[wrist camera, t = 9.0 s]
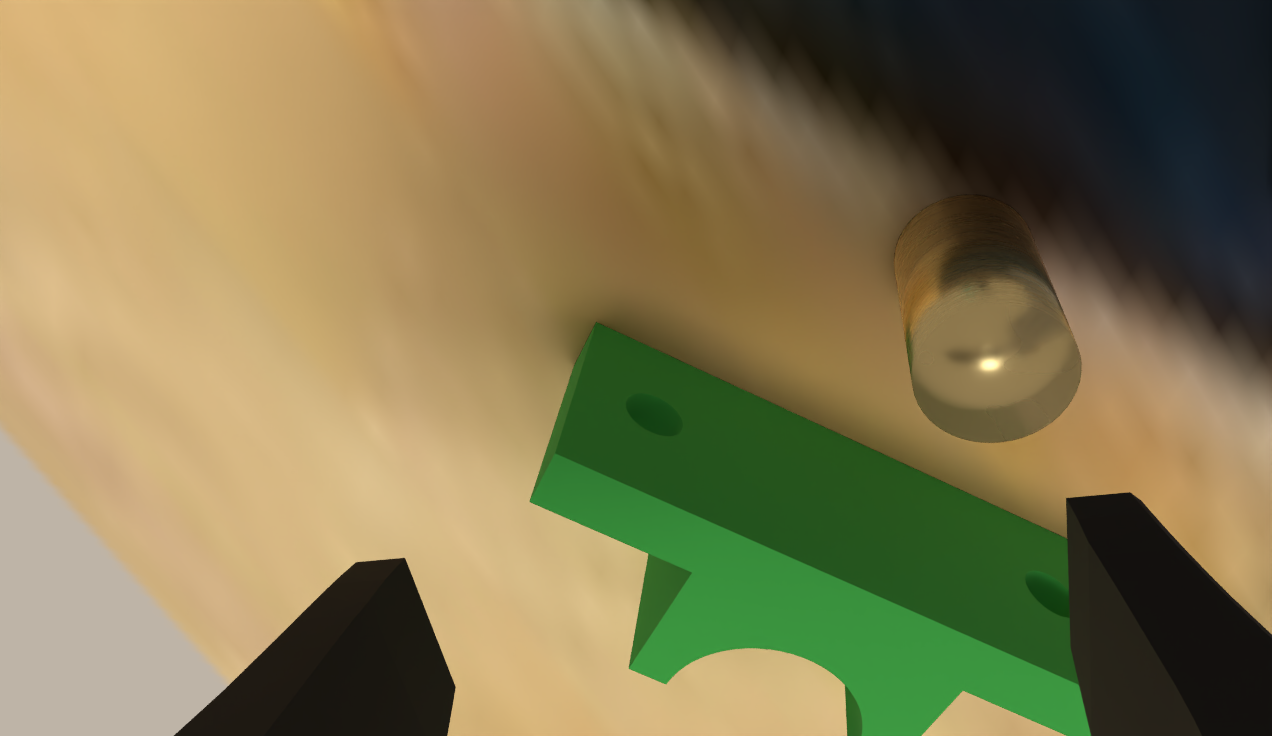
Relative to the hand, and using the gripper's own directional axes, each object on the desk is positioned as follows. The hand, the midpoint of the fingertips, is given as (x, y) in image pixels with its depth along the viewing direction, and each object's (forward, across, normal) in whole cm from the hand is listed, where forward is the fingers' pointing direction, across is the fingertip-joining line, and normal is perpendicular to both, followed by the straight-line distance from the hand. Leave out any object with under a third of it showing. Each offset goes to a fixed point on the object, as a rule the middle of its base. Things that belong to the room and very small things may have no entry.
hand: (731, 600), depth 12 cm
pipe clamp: (+10, 0, +6) cm, 11 cm away
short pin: (+9, -4, +1) cm, 10 cm away
